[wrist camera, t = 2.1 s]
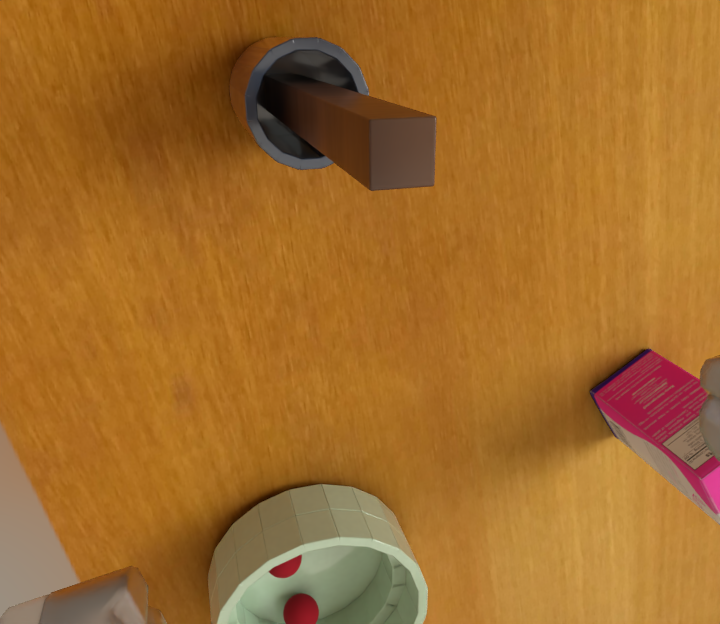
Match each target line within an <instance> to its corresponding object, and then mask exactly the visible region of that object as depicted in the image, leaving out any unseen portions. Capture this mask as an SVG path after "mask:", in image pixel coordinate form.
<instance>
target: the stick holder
mask: <svg viewBox="0 0 720 624" xmlns="http://www.w3.org/2000/svg"><path fill="white" fill-rule="evenodd" d="M270 74H299V75H302V76H306V77H309V78H312V79H315V80H319V81H322V82H325V83H328V84H332V85H335V86H338V87H341V88H345V89H348V90H351V91H354V92H358V93H361V94H364V95H367V96H369V91H368V90H369V89H368V87H367V84H366V81H365V79H364V76H363V74H362V71H361V69H360V67H359V65H358V64H357V63H356V62H355V61H354V60H353V59H352V58H351V57H350V56H349V55H348V54H347V52H346V51H345V50H344V49H342V48H341V47H339V46H337V45H335V44H333V43H330V42H328V41H326V40H323V39H321V38H317V37H268V38H265V39H263V40H260V41H257V42H256V43H254V44H252V45H251V46H250V47H248V48H247V49H246V50H245V51H244V52H243V53H242V54H241V55H240V57H239V58H238V59H237V61H236V63H235V65H234V67H233V70H232V73H231V77H230V84H229V94H230V100H231V104H232V108H233V110H234V112H235V114H236V116H237V118H238V120H239V122H240V123H241V125H242V126H243V127H244V128H245V130H246V131H247V132H248V133H249V134H250V136H251V137H252V138H253V139H254V141H255V142H256V143H257V144H258V146H259V147H260V148H262V149H263V150H264V151H265V152H266V153H267V154H268V155H269V156H271V157H272V158H273V159H274V160H275V161H277V162H278V163H281V164H284V165H287V166H289V167H292V168H295V169H298V170H299V169H300V170H306V169H322V168H325V167H327V166H329V165H331V164H333V163H334V162H333V161H331V160H330V159H329V158H327V157H326V156H325V155H324V154H322V153H321V152H320V151H318V150H317V149H316V148H314V147H313V146H312V145H311V144H309V143H308V142H307V141H305V140H304V139H303V138H302V137H300V136H299V135H298V134H296V133H295V132H294V131H292V130H291V129H290V128H289V127H287V126H286V125H285V124H283V123H282V122H281V121H280V120H278V119H277V118H276V117H274V116H273V115H272V114H270V113H269V112H268V111H267V110H266V103H265V88H264V75H270Z"/></svg>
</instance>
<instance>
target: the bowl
mask: <svg viewBox="0 0 720 624" xmlns="http://www.w3.org/2000/svg"><path fill="white" fill-rule="evenodd" d="M301 554H302V561H301V565H300V567H299V569H298V570H297V572H296V573H295V574H293V575H292V576H290V577H287V578H277V577H274V576H273V575H271V574H270V573H269V572H268V571H270V570H271V569H272V568H273V567H275V566H278V565H280V564H282V563H284V562H286V561H288V560H290V559H292V558H295V557H297V556H299V555H301ZM208 587H209V601H210V615H211V624H286V623H285V621H284V617H283V610H284V606H285V604H286V602H287V601H288V600H289V599H290V598H291V597H292V596H294V595H296V594H300V593H304V594H308V595H310V596H311V597H312V598H314V600H315V601H316V603H317V605H318V608H319V616H318V620H317V622H316V624H423V621H424V619H425V617H426V614H427V595H428V587H427V585H426V582H425V580H424V577H423V575H422V572H421V570H420V567H419V565H418V563H417V561H416V559H415V557H414V555H413V552H412V550H411V548H410V546H409V544H408V542H407V540H406V538H405V536H404V533H403V531H402V529H401V527H400V525H399V523H398V521H397V519H396V517H395V514H394V513H393V512H392V511H391V510H390V509H389V508H388V507H387V506H386V505H385V504H384V503H383V502H381V501H380V500H379V499H378V498H377V497H376V496H373V495H371V494H369V493H366V492H364V491H361V490H359V489H357V488H354V487H350V486H340V485H328V484H317V485H312V486H306V487H301V488H295V489H290V490H289V491H288V490H287V491H285V492H283V493H280V494H278V495H276V496H274V497H272V498H269V499H267V500H265V501H263V502H261V503H259V504H257V505H256V506H254V507H253V508H252V509H251V510H250V511H248V512H247V513H246V514H245V515H243V516H242V517H241V518H240V519H238V520H237V521H236V522H235V523H233V525H231V527H230V528H229V530H228V531H227V533H226V534H225V535H224V537H223V538H222V540H221V541H220V543H219V544H218V546H217V547H216V548H215V551H214V554H213V558H212V562H211V565H210V569H209V573H208Z"/></svg>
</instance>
